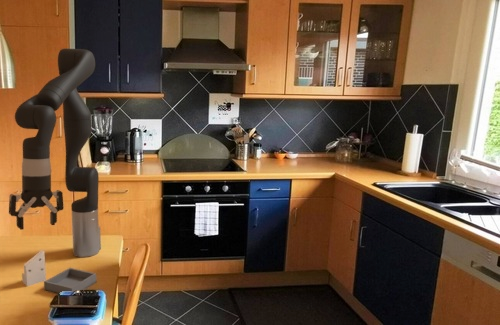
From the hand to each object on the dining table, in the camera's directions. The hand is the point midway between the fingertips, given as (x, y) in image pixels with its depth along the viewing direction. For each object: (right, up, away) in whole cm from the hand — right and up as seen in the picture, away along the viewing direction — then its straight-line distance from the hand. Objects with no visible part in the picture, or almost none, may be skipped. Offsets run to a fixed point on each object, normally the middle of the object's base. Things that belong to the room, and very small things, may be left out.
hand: (37, 226), depth 119 cm
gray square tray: (+7, -20, +8) cm, 23 cm away
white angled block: (-6, -20, +10) cm, 23 cm away
